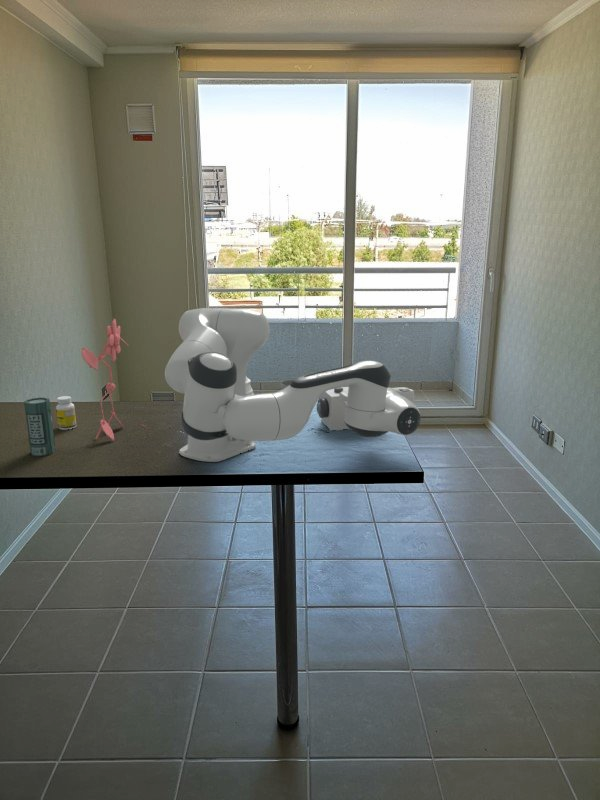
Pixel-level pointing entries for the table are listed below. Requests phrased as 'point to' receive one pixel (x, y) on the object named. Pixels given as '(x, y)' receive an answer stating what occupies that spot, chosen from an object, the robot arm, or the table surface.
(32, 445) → the can
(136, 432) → the table surface
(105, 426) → the figurine
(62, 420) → the supplement bottle
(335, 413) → the camera housing
